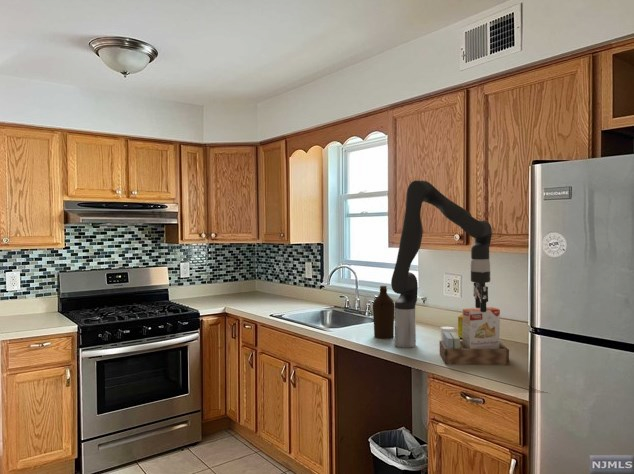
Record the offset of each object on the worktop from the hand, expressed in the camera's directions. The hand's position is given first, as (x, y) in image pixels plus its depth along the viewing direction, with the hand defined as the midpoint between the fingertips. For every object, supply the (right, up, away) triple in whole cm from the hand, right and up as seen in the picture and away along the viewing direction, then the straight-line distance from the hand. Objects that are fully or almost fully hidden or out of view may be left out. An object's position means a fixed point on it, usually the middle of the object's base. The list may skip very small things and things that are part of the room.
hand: (480, 310), depth 200 cm
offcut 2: (-10, -21, +2) cm, 23 cm away
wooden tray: (-3, -20, +1) cm, 21 cm away
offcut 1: (-13, -21, +2) cm, 24 cm away
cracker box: (0, -21, +1) cm, 21 cm away
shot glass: (-6, -20, +29) cm, 36 cm away
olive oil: (-33, -20, +43) cm, 58 cm away
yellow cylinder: (+5, -19, +36) cm, 41 cm away
